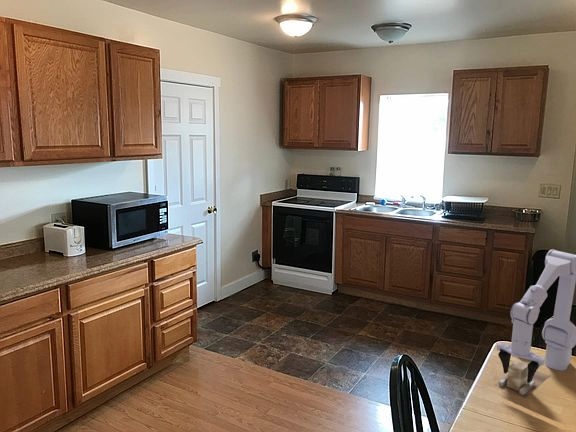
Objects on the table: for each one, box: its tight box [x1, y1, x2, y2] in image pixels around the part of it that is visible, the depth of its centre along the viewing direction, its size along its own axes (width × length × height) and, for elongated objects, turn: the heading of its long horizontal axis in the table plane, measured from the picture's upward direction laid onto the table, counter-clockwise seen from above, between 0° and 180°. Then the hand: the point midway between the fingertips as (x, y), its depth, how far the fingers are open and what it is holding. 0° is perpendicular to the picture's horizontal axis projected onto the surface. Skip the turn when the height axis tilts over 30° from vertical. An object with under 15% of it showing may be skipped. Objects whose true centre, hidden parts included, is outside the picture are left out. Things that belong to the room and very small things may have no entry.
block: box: [507, 360, 528, 391], centre depth 158 cm, size 4×6×7 cm, turn 131°
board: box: [494, 370, 550, 399], centre depth 161 cm, size 20×10×3 cm, turn 131°
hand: (517, 376), depth 158 cm, fingers open, 7 cm apart
